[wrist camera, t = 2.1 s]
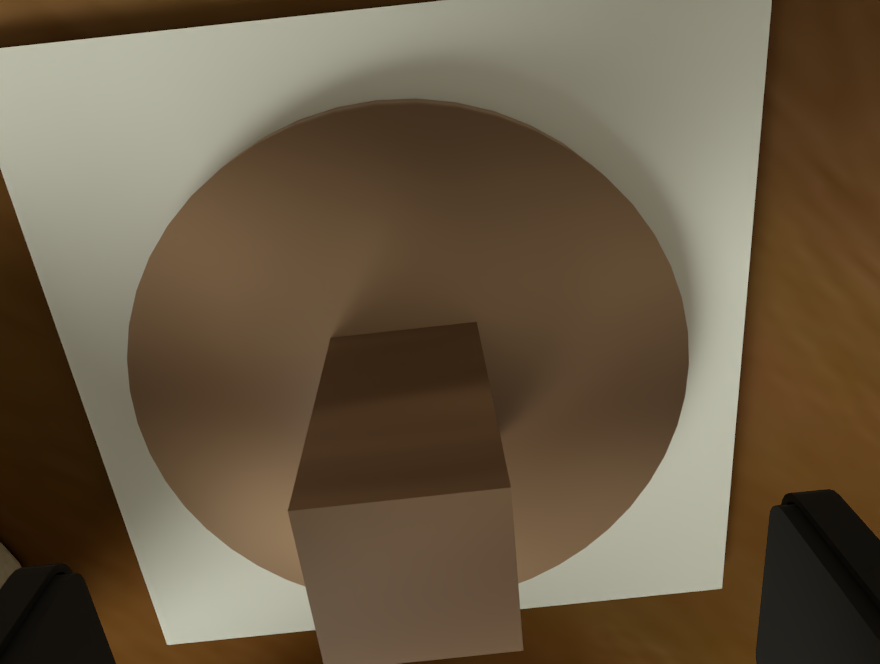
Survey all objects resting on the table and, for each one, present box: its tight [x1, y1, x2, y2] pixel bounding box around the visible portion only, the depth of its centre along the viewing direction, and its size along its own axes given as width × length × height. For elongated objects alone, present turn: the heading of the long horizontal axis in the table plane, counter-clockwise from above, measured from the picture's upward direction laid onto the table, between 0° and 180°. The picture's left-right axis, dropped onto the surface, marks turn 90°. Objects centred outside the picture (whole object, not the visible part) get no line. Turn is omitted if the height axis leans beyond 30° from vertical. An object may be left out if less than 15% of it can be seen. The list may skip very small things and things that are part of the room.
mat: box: [0, 0, 772, 645], centre depth 15 cm, size 14×14×1 cm
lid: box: [127, 98, 689, 664], centre depth 12 cm, size 11×11×6 cm
